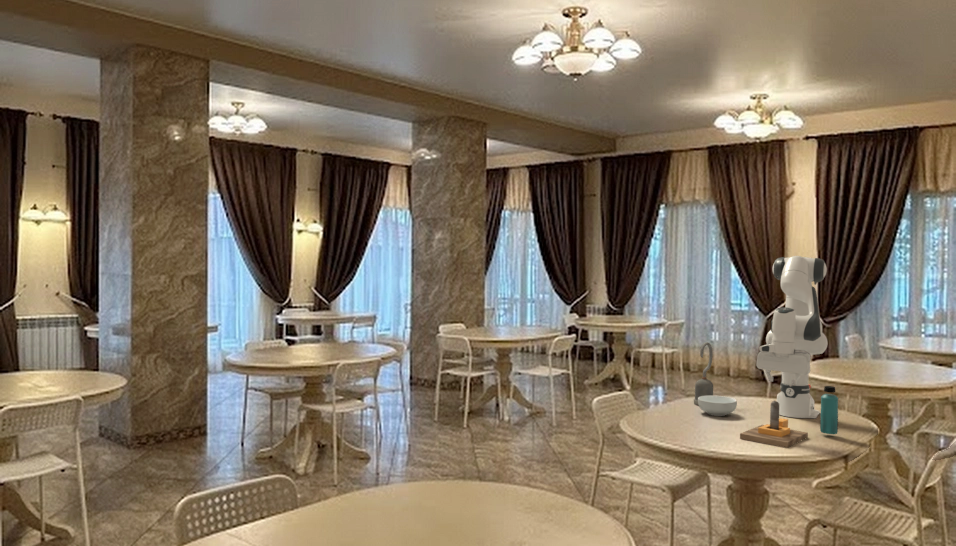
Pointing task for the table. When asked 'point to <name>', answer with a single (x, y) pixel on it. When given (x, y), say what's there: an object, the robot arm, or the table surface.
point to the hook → (704, 378)
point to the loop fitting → (780, 433)
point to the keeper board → (774, 439)
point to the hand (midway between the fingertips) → (782, 382)
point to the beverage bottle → (829, 412)
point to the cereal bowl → (717, 405)
